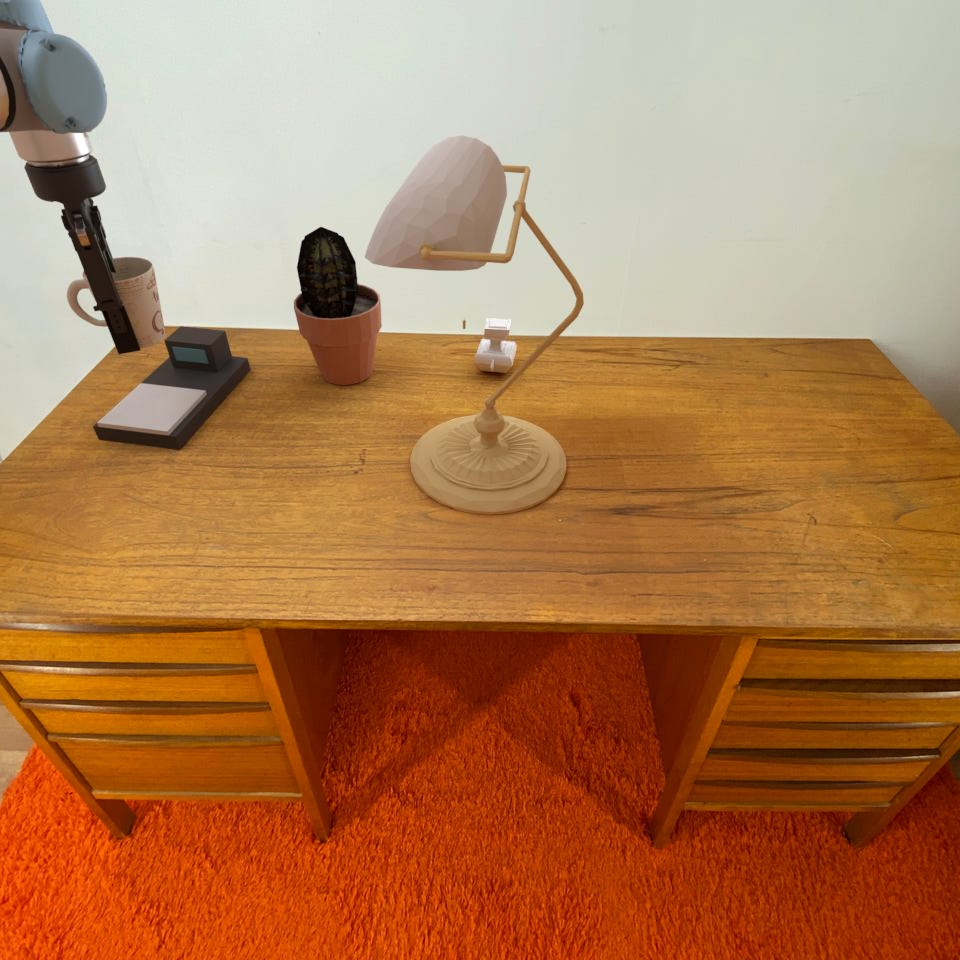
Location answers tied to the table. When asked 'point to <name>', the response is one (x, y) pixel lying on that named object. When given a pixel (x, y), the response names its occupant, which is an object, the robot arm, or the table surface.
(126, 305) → the mug
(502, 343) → the stamp
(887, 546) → the table surface
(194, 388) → the scale
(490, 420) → the desk lamp
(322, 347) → the potted plant
